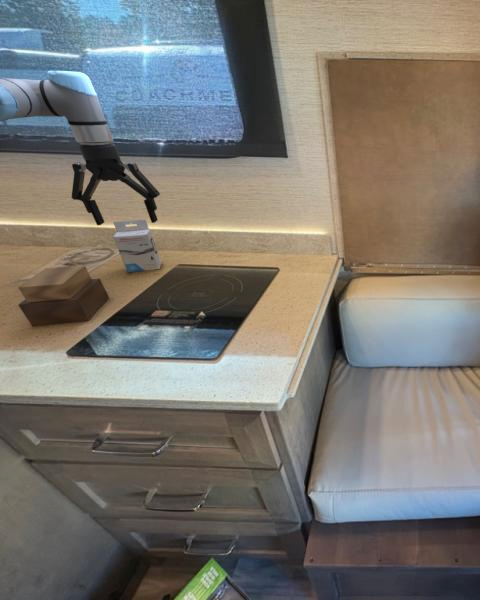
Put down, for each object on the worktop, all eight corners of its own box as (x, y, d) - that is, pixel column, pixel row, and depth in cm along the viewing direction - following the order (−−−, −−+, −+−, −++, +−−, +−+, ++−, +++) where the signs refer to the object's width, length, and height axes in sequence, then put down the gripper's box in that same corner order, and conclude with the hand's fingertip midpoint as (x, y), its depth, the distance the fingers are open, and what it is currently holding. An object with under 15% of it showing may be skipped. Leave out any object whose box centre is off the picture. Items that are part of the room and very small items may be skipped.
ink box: (127, 273, 101) (107, 226, 93) (130, 266, 105) (111, 221, 97) (160, 269, 104) (143, 223, 96) (162, 262, 108) (146, 218, 100)
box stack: (32, 326, 77) (7, 289, 72) (59, 302, 86) (39, 267, 81) (88, 320, 80) (68, 284, 74) (109, 298, 89) (93, 264, 83)
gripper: (155, 141, 92) (179, 216, 103) (46, 141, 86) (84, 220, 97) (146, 145, 86) (172, 224, 97) (27, 144, 80) (70, 229, 91)
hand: (128, 222), depth 97 cm, fingers open, 13 cm apart
